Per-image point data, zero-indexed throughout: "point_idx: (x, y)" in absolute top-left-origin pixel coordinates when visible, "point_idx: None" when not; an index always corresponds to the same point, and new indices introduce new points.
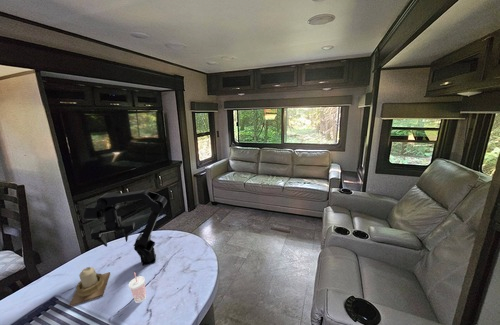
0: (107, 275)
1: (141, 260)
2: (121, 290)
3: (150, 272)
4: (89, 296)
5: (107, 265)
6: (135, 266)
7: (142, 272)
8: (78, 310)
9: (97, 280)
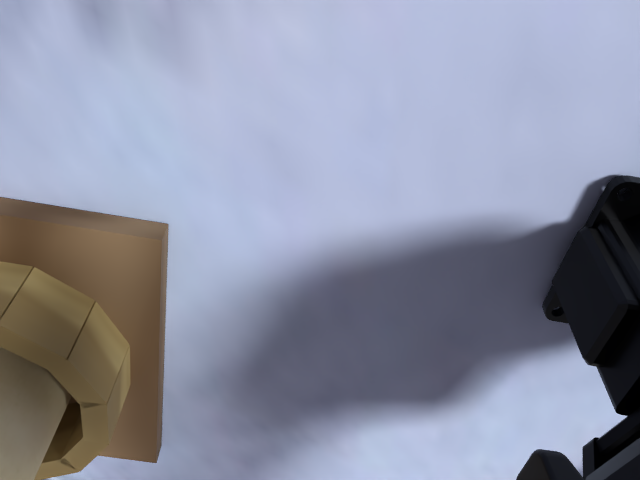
0: (143, 282)
1: (567, 315)
2: (303, 462)
3: (573, 420)
4: None
5: (75, 7)
6: (466, 267)
7: (507, 385)
8: None
9: (62, 405)
